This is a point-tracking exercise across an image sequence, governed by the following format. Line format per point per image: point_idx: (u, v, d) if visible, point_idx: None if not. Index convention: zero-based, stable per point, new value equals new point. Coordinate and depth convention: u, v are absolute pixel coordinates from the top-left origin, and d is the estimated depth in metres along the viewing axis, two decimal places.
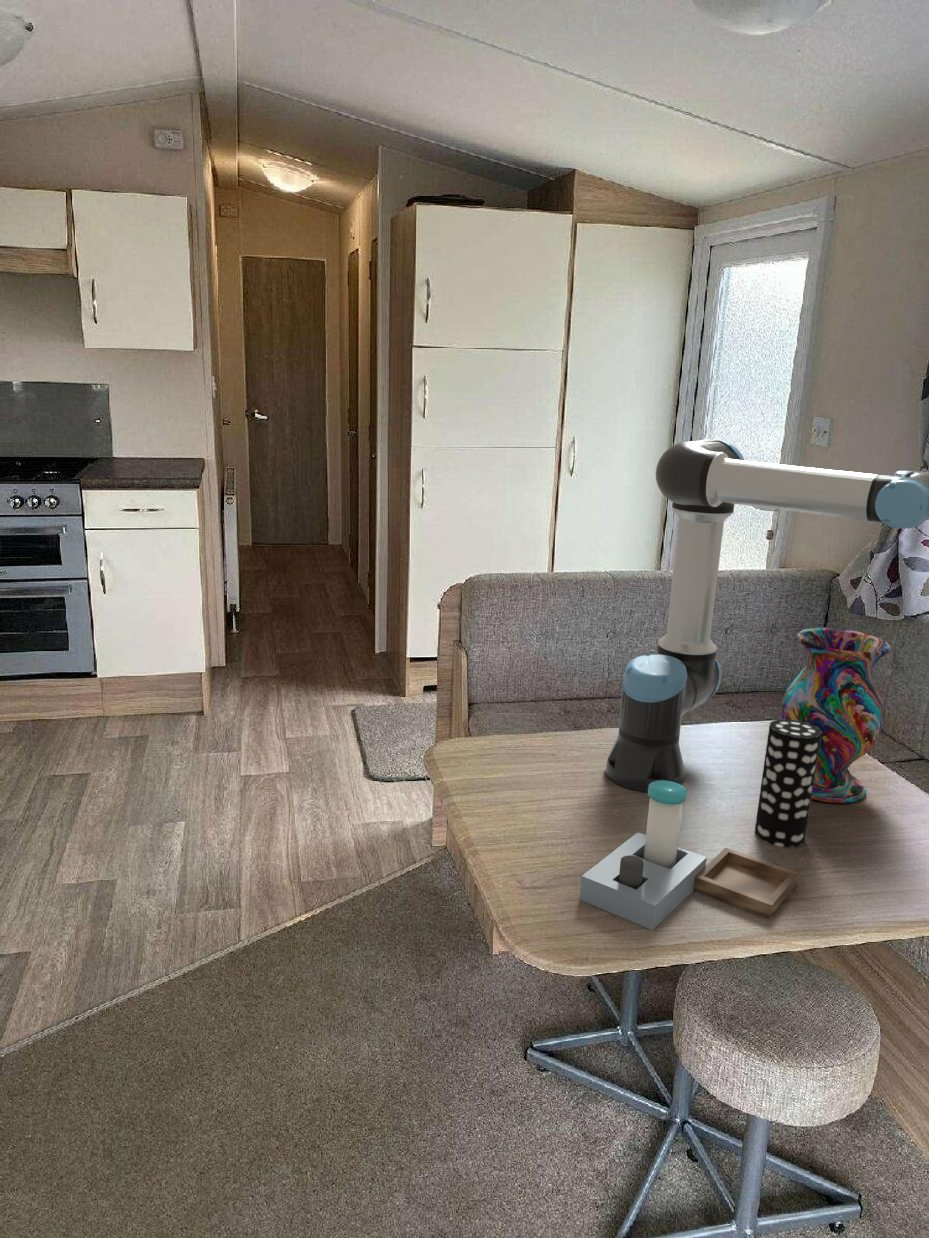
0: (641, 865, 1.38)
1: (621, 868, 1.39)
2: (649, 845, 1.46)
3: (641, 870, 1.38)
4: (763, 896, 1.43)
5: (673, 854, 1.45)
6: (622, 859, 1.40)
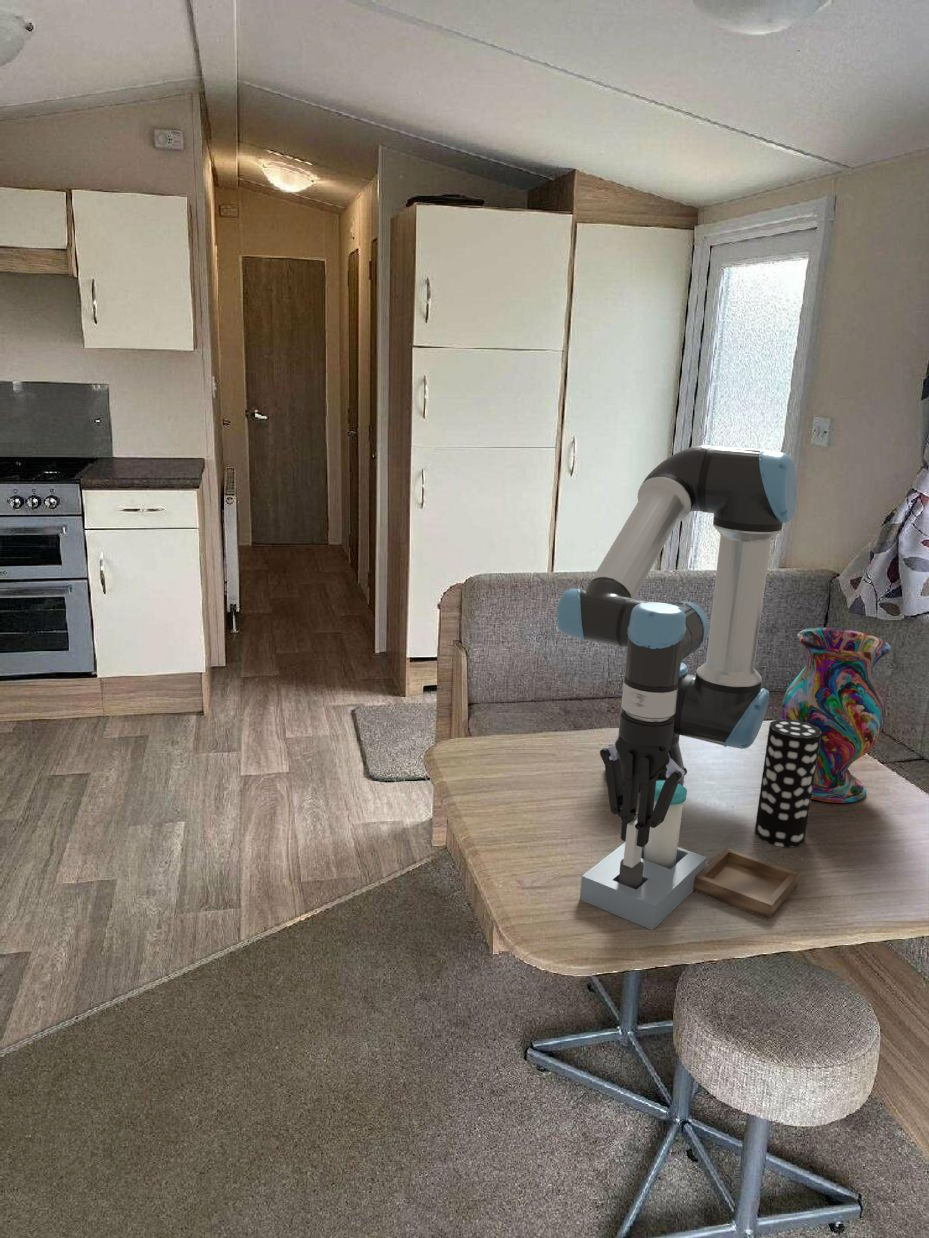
0: (641, 867, 1.38)
1: (621, 870, 1.39)
2: (649, 845, 1.46)
3: (641, 872, 1.38)
4: (763, 896, 1.43)
5: (673, 854, 1.45)
6: (622, 861, 1.40)
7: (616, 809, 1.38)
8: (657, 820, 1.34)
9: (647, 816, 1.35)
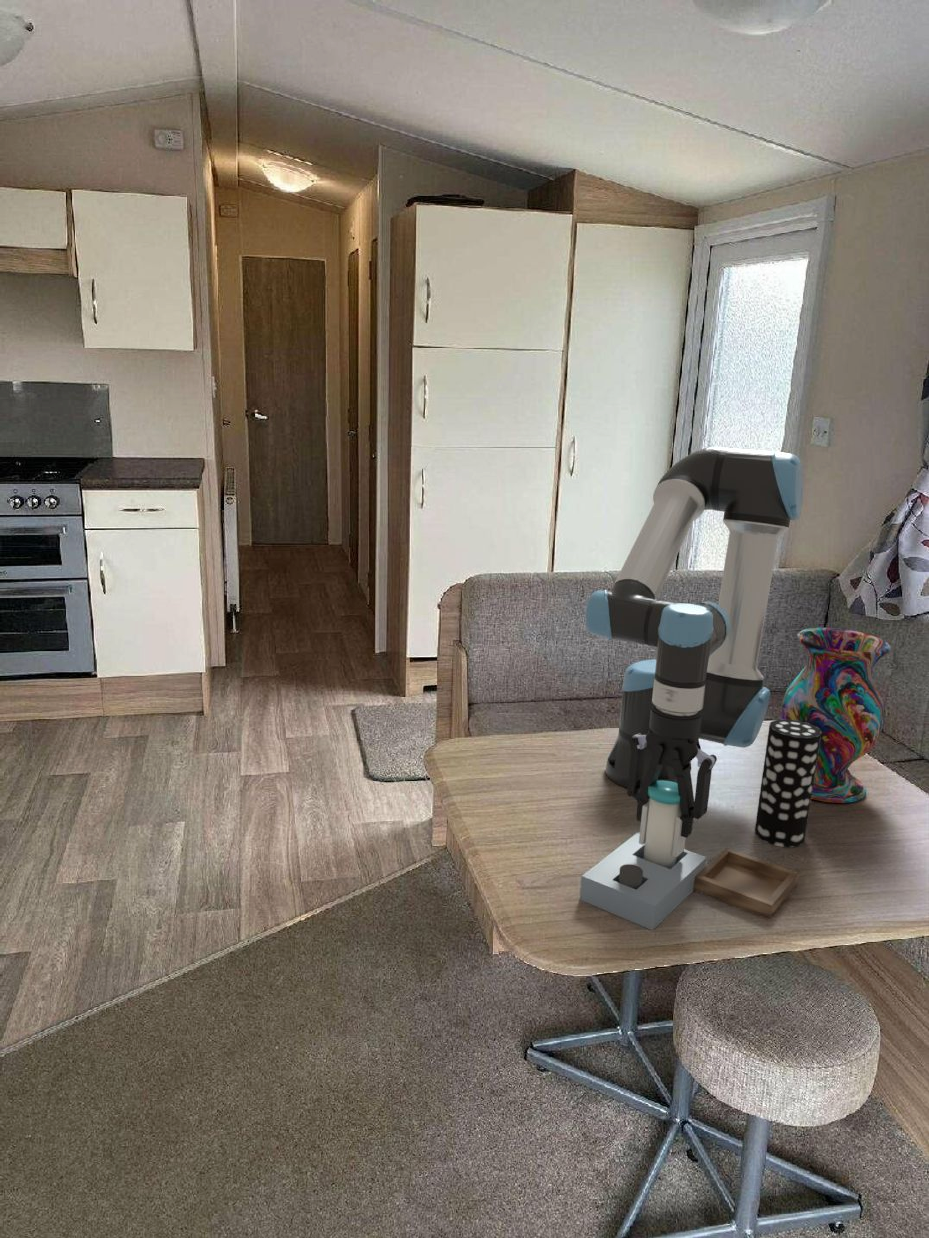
0: (640, 874, 1.39)
1: (620, 877, 1.39)
2: (649, 845, 1.46)
3: (640, 879, 1.39)
4: (763, 896, 1.43)
5: None
6: (621, 868, 1.40)
7: (632, 792, 1.47)
8: (700, 810, 1.41)
9: (689, 807, 1.42)
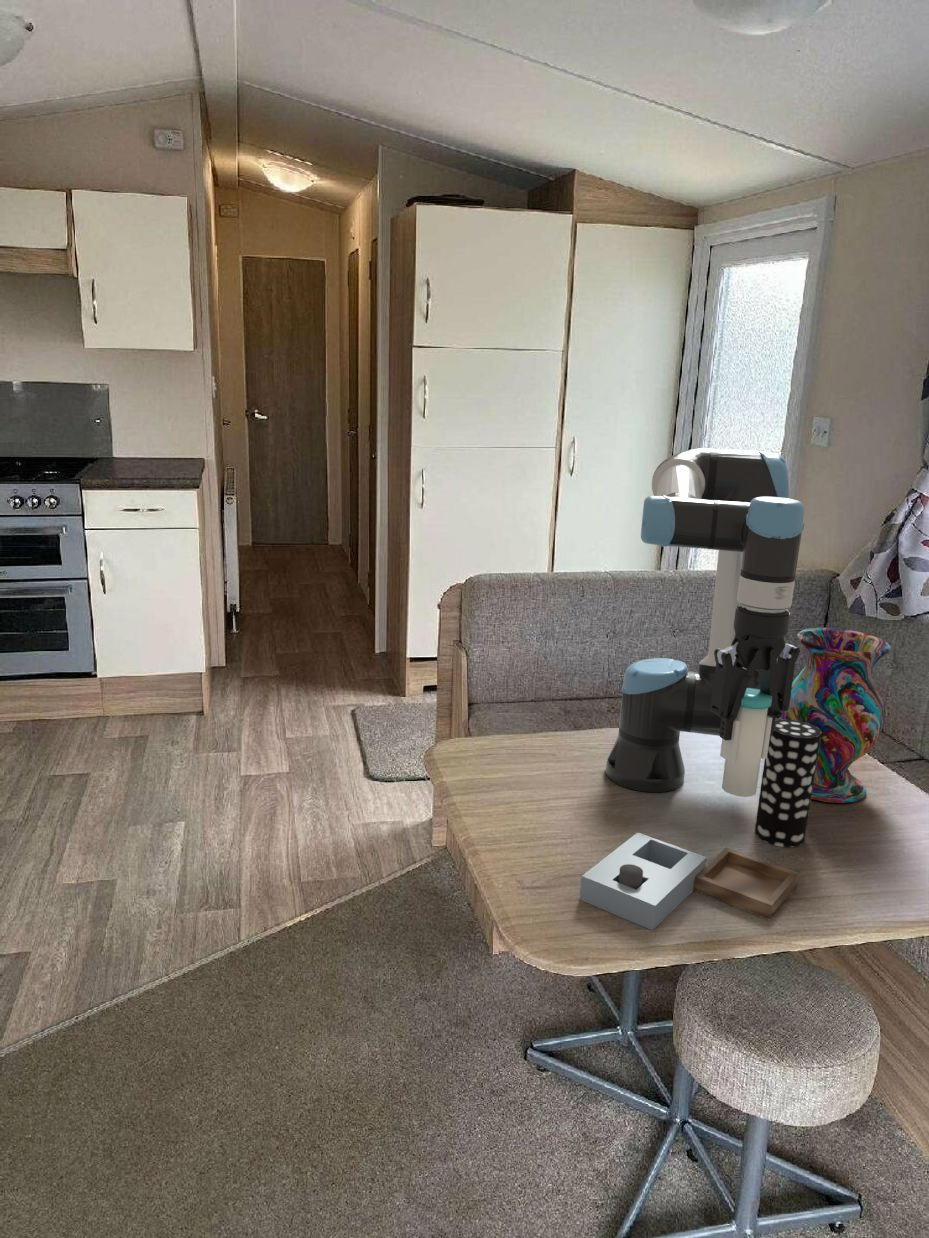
0: (640, 874, 1.39)
1: (620, 877, 1.39)
2: (746, 758, 1.38)
3: (640, 879, 1.39)
4: (763, 896, 1.43)
5: None
6: (621, 868, 1.40)
7: (726, 712, 1.36)
8: (789, 701, 1.40)
9: None
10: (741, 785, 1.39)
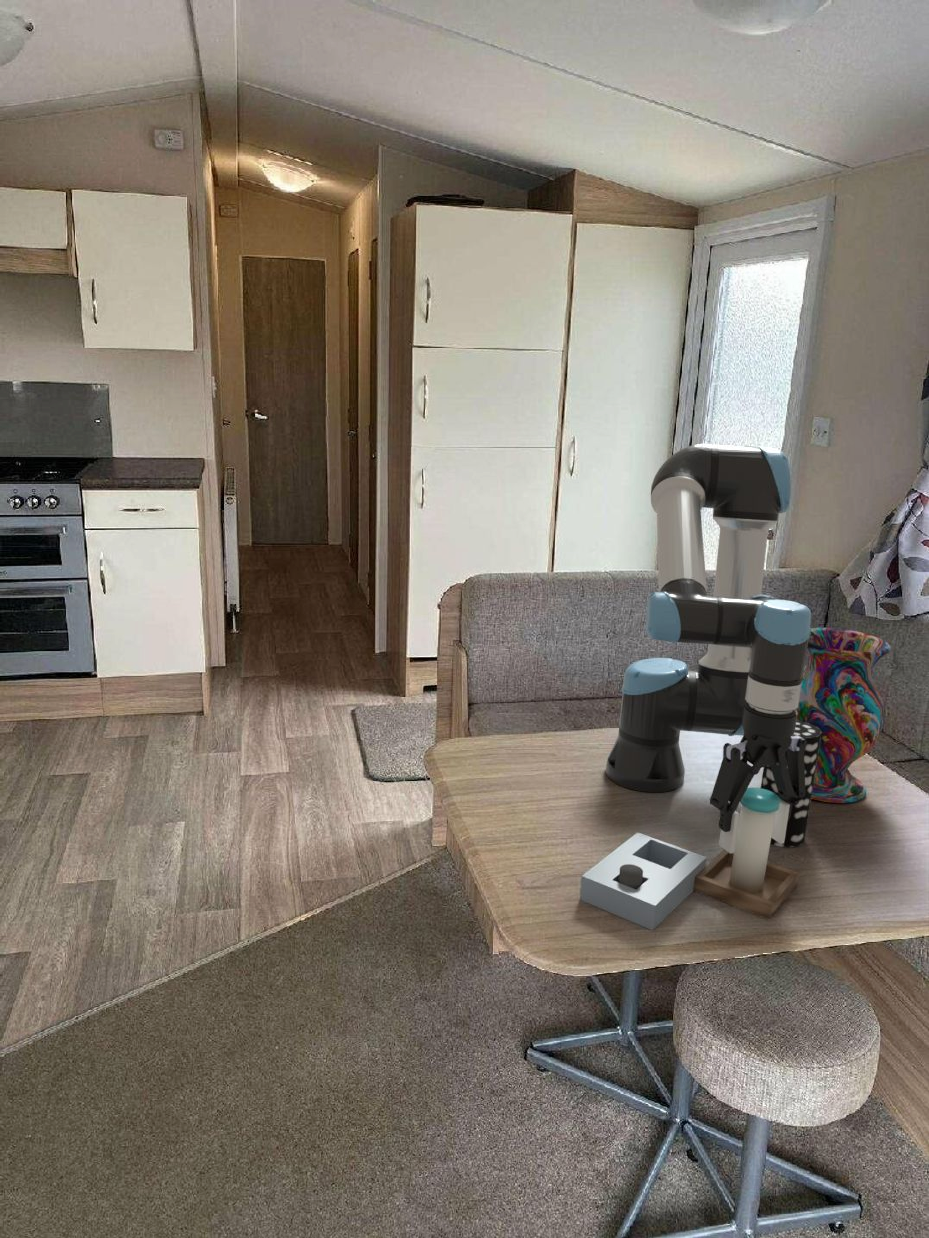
0: (640, 874, 1.39)
1: (620, 877, 1.39)
2: (755, 858, 1.42)
3: (640, 879, 1.39)
4: (763, 896, 1.43)
5: None
6: (621, 868, 1.40)
7: (725, 806, 1.39)
8: (804, 787, 1.44)
9: None
10: (749, 883, 1.43)
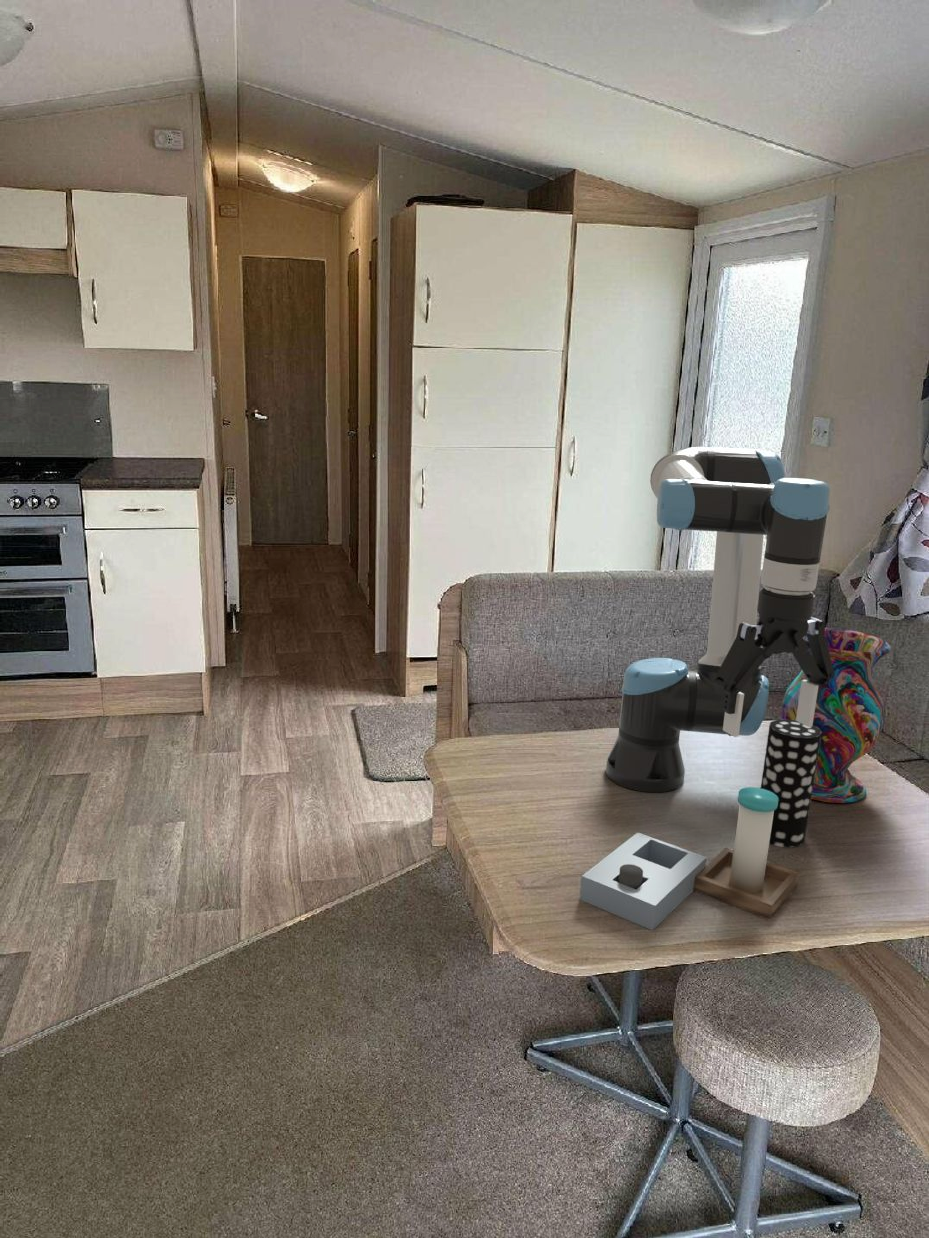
0: (640, 874, 1.39)
1: (620, 877, 1.39)
2: (754, 857, 1.42)
3: (640, 879, 1.39)
4: (763, 896, 1.43)
5: None
6: (621, 868, 1.40)
7: (729, 686, 1.33)
8: (832, 668, 1.40)
9: None
10: (749, 882, 1.43)
